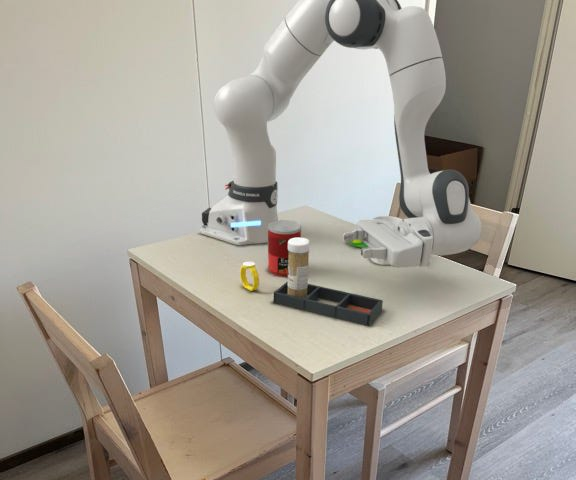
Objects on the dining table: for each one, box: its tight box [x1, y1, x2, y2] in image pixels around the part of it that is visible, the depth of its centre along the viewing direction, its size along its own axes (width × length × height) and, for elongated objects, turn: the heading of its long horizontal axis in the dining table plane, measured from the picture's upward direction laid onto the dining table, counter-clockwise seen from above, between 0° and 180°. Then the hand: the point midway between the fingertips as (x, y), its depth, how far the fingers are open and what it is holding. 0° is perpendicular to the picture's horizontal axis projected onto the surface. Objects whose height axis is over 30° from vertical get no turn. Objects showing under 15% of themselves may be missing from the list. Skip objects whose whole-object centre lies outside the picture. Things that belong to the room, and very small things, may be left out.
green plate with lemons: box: [347, 239, 368, 249], centre depth 159 cm, size 8×8×3 cm
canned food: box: [267, 219, 302, 277], centre depth 141 cm, size 8×8×11 cm
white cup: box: [370, 215, 403, 266], centre depth 147 cm, size 8×8×10 cm
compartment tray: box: [273, 280, 384, 327], centre depth 127 cm, size 22×8×2 cm, turn 63°
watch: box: [239, 261, 260, 292], centre depth 133 cm, size 6×3×6 cm, turn 35°
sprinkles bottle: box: [287, 237, 311, 298], centre depth 127 cm, size 5×5×13 cm
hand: (353, 245), depth 127 cm, fingers open, 8 cm apart
